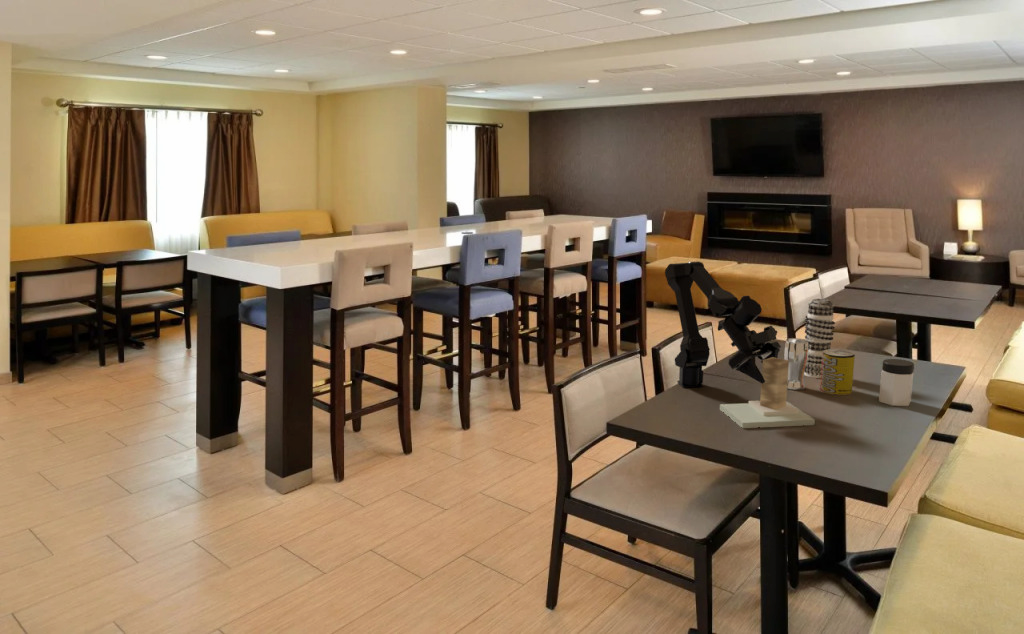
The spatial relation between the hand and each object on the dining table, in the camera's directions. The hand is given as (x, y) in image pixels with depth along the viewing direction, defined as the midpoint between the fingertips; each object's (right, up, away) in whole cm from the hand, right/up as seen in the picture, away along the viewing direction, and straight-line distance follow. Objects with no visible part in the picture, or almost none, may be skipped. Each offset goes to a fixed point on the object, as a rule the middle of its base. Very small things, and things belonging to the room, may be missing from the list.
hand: (772, 379), depth 214 cm
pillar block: (0, -7, +1) cm, 7 cm away
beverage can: (+27, -6, +23) cm, 36 cm away
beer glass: (+16, -5, +27) cm, 31 cm away
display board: (-2, -10, -1) cm, 11 cm away
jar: (+40, -8, +12) cm, 42 cm away
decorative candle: (+28, -2, +41) cm, 50 cm away
